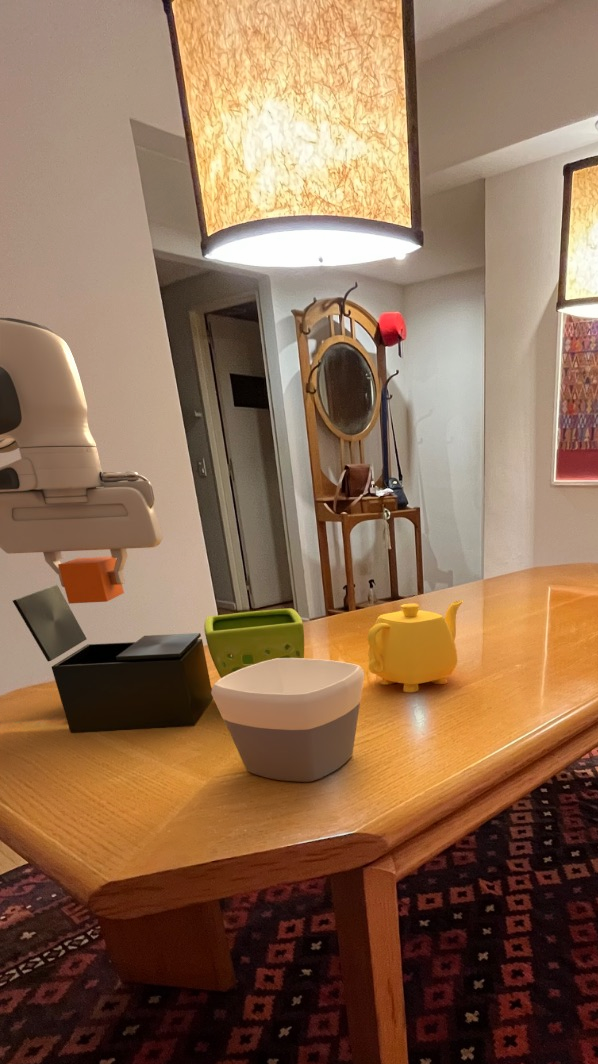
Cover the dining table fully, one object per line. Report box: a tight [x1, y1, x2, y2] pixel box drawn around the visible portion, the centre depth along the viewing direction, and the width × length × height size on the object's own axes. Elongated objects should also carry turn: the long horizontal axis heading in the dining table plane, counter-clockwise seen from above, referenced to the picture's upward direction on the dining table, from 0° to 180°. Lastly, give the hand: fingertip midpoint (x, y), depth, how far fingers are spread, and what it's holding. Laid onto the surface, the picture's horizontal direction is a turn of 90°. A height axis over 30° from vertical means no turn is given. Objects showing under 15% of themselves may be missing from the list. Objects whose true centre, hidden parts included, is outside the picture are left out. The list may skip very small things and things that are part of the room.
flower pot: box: [203, 607, 305, 679], centre depth 103 cm, size 14×14×13 cm
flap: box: [12, 584, 88, 663], centre depth 94 cm, size 8×13×1 cm
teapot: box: [367, 599, 464, 693], centre depth 111 cm, size 14×20×13 cm
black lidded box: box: [51, 632, 214, 734], centre depth 99 cm, size 17×13×10 cm
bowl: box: [211, 657, 365, 783], centre depth 80 cm, size 15×15×11 cm
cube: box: [58, 556, 125, 605], centre depth 92 cm, size 7×5×5 cm
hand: (93, 585), depth 92 cm, fingers closed on cube, 5 cm apart
